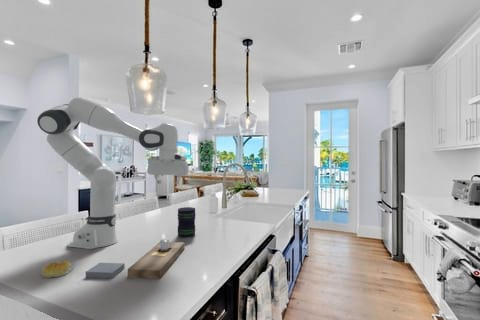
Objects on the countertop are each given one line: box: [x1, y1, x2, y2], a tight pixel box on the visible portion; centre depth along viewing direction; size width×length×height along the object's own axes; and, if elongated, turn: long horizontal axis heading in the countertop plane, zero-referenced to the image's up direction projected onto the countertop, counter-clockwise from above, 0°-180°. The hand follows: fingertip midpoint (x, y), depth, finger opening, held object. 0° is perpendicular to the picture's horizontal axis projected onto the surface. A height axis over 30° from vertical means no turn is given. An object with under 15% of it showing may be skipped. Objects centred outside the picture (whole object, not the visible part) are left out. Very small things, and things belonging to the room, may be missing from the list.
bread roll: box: [41, 261, 74, 279], centre depth 92 cm, size 8×9×4 cm
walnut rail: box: [127, 241, 185, 280], centre depth 103 cm, size 12×30×3 cm, turn 176°
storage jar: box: [177, 206, 196, 239], centre depth 139 cm, size 10×10×15 cm
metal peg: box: [159, 238, 170, 252], centre depth 108 cm, size 4×4×7 cm
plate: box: [85, 262, 126, 279], centre depth 92 cm, size 10×8×2 cm
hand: (167, 184), depth 123 cm, fingers open, 8 cm apart
